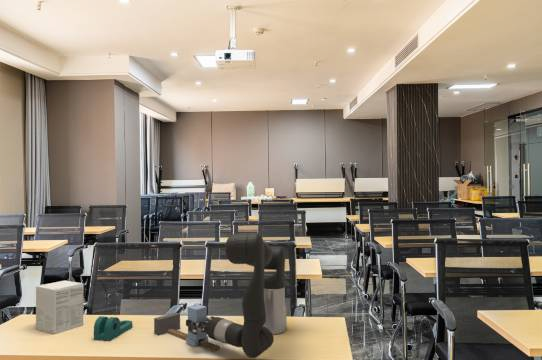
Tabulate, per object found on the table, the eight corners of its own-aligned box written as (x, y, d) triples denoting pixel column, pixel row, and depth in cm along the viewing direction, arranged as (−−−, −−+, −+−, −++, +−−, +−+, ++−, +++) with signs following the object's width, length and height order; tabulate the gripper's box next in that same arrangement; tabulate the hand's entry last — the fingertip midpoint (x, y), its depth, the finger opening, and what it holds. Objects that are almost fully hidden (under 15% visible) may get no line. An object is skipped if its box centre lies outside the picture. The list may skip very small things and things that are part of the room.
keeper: (199, 338, 155) (199, 304, 156) (208, 341, 152) (208, 306, 152) (186, 343, 151) (186, 307, 151) (194, 346, 147) (194, 310, 148)
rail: (172, 331, 164) (172, 328, 164) (220, 349, 144) (220, 346, 144) (166, 332, 162) (166, 329, 162) (215, 351, 143) (215, 348, 143)
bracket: (109, 341, 154) (109, 320, 154) (93, 340, 155) (93, 319, 155) (135, 326, 171) (135, 307, 171) (120, 325, 173) (121, 306, 173)
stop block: (175, 327, 169) (175, 312, 169) (180, 328, 167) (180, 313, 167) (154, 333, 161) (154, 318, 161) (158, 335, 159) (158, 319, 159)
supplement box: (84, 325, 173) (84, 283, 173) (54, 334, 161) (54, 289, 162) (65, 320, 180) (65, 279, 180) (34, 329, 168) (35, 285, 169)
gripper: (238, 314, 147) (207, 306, 159) (206, 324, 137) (176, 314, 148) (238, 336, 147) (207, 326, 158) (206, 347, 136) (176, 336, 148)
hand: (192, 320), depth 153 cm, fingers closed on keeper, 4 cm apart
